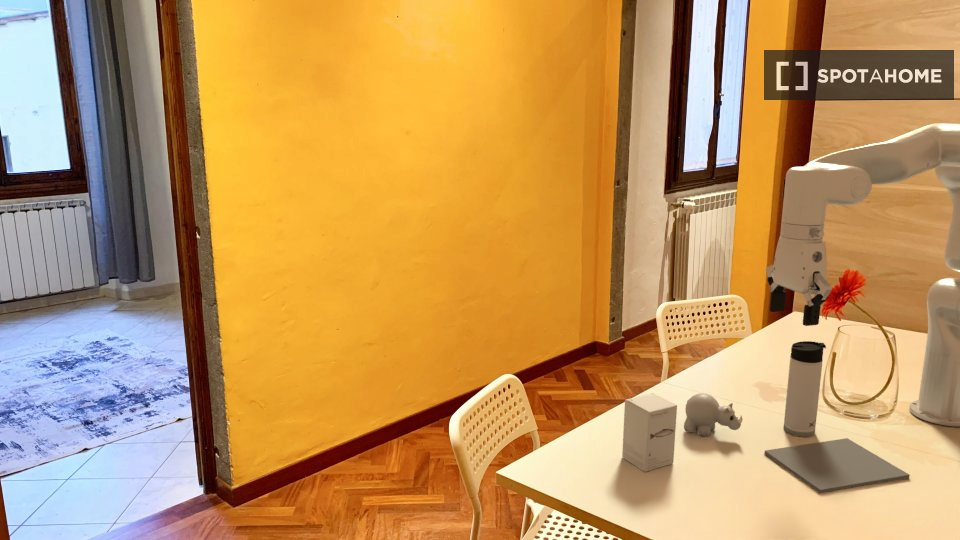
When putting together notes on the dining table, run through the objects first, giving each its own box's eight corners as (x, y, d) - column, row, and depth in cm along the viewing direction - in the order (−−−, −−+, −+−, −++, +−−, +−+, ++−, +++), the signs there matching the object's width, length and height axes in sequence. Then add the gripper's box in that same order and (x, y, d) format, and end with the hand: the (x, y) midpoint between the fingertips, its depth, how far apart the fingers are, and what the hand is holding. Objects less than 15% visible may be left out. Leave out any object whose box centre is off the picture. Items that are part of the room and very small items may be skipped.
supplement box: (645, 473, 142) (648, 412, 139) (621, 457, 148) (623, 398, 145) (674, 464, 145) (678, 404, 142) (649, 449, 151) (652, 391, 148)
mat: (846, 441, 154) (847, 438, 154) (909, 478, 139) (909, 474, 139) (764, 454, 149) (764, 450, 149) (819, 493, 134) (820, 489, 134)
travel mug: (819, 438, 155) (829, 348, 151) (786, 436, 157) (795, 346, 152) (812, 426, 161) (821, 339, 157) (780, 423, 163) (789, 337, 158)
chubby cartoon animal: (735, 448, 152) (738, 409, 150) (678, 433, 158) (681, 396, 157) (745, 435, 157) (748, 398, 155) (690, 421, 164) (693, 385, 162)
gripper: (851, 239, 134) (841, 329, 137) (788, 224, 150) (780, 305, 154) (817, 241, 132) (807, 332, 135) (756, 225, 148) (749, 307, 152)
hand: (793, 317), depth 144 cm, fingers open, 9 cm apart
